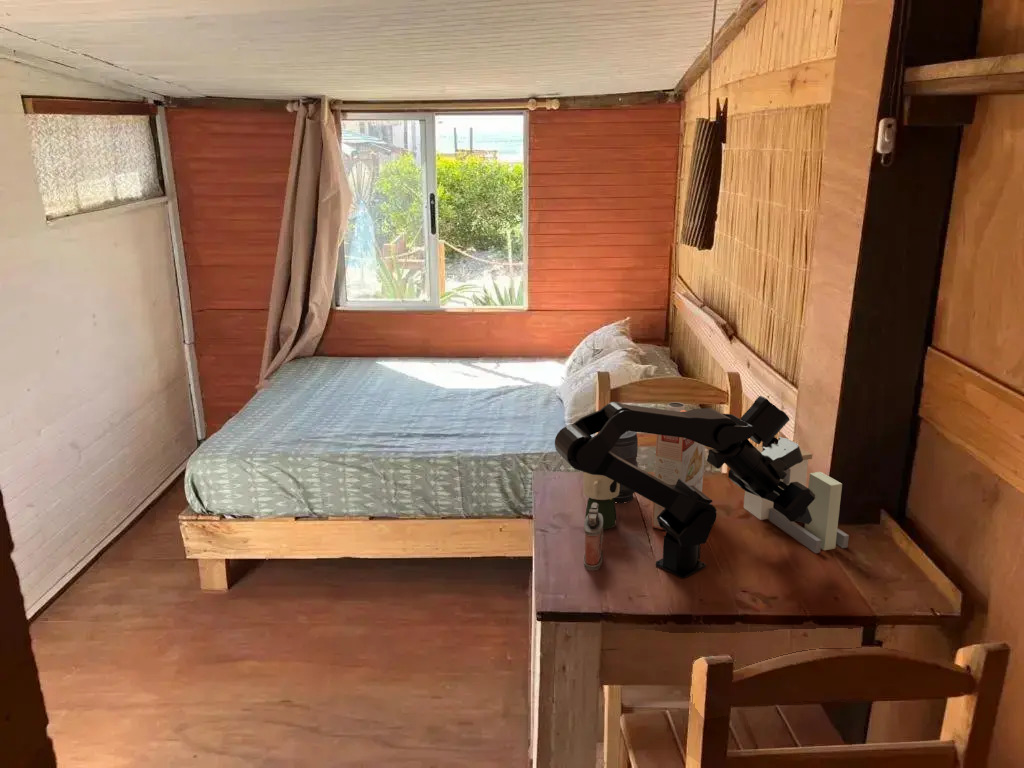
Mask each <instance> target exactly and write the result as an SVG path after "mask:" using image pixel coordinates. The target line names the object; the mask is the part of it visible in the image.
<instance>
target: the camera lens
mask: <svg viewBox="0 0 1024 768" xmlns="http://www.w3.org/2000/svg"><path fill="white" fill-rule="evenodd" d="M637 433H638V432H633V431H627V432H625V433H624V434H623V435H621V437H620V438H619V439H618V441H617V442H616V444H615V445H614V446H613V448H612V449H611V450H610V451H609V452H611V453H613V454H615V455H616V456H618V457H620V458H622V459H624V460H625V461H627V462H629V463H631V464H633V465H634V466H636V467H638V465H639V463H638V460H637V457H638V450H639V449H638V448H639V447H638V441H639V437H638V434H637ZM638 468H639V467H638ZM634 493H635V492H634V491H632V490H630V489H628V488H626V487H625V486H623V485H621V484H620V490H619V495H618V496H617V497H615V498H613V499H614V502H617V503H616V504H619V503H620V504H625V503H624V502H627V503H629V502H628V501H630V500H631V501H632V500H633V499H634ZM632 498H633V499H632ZM631 501H630V502H631Z"/></svg>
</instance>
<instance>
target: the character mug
mask: <svg viewBox="0 0 1024 768" xmlns="http://www.w3.org/2000/svg"><path fill="white" fill-rule="evenodd" d="M582 484H583V485H582V486H583V495H585V497H587V498H588V499H587V504H586V509H585V516H584V519H585V518H586V516H587V515H588V514H589V509H591V505H592V504H593V503H597V504H598V513H600V514H602V516H603V530H605V529H611V528H614V527H615V526H616V524H617V523H618V521H617V520H618V519H617V509H616V503H615V502H614V499H613V498H615V497H617V496H618V495H619V490H620V484H619V483H617V482H615V481H614V480H612V479H610V478H608V477H606V476H603V475H592V474H589V473H585V472H583V483H582Z"/></svg>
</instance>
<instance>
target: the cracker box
mask: <svg viewBox="0 0 1024 768" xmlns="http://www.w3.org/2000/svg"><path fill="white" fill-rule="evenodd" d="M686 411H687V410H685V409H684V410H681V411H680V412H686ZM655 443H656V444H655V462H654V477H656V478H658V479H660V480H661V481H663V482H665V483H667V484H670V485H676V483H677V481H678V479H681V480H682V481H683V482H684V483H686V484H687V485H689V486H694V487H695V488H697V489H698V490H699V491H701V492H702V493H703V483H704V482H703V481H704V469H705V467H704V466H705V456H706V455H705V454H706V446H704V445H702V444H699V443H697V442H695V441H692V440H690V439H687V438H682V437H674V436H666V435H658V434H656V441H655ZM664 509H665V508H664V507H662V506H660V505H658V504H656V503H654V502H652V517H651V518H652V519H651V527H652V528H656V529H659V530H664V529H663V528H661V527H660V526H659V523H658V520H657V516H658V515H659V514H660V513H661V512H662V511H663V510H664ZM664 531H665V530H664Z"/></svg>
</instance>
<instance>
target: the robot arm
mask: <svg viewBox="0 0 1024 768" xmlns="http://www.w3.org/2000/svg"><path fill="white" fill-rule="evenodd" d="M685 411H686V412H677V411H670V410H667V409H660V408H653V407H647V406H641V405H639V406H638V405H631V404H626V403H625V404H624V403H621V402H620V401H611V402H609V403H608V404H606V405H604V406H603V407H601V408H600V409H598V410H597V411H594V412H592V413H588V414H586V415H584V416H582V417H580V418H578V419H577V420H576V421H575V422H573V423H571V424H569V425H566V426H564V427H563V428H561V429H560V430H559V431H558V432H557V434H556V435H555V438H554V447H555V450H556V452H557V453H558V454H559V455H560V456H561V457H562V458H563V459H564V460H565V461H566V462H567V463H568V464H569V466H571V467H572V468H573V469H574V470H576V471H579V472H583V473H584V472H585V473H589V474H592V475H603V476H606V477H608V478H610V479H612V480H614V481H615V482H617V483H619V484H621V485H623V486H625V487H626V488H628V489H630V490H632V491H634V493H636V494H638V495H639V496H641V497H643V498H645V499H647V500H649V501H651V502H652V503H653V502H654V503H656V504H658V505H660V506H662V507H664V508H665V509H664V510H663V511H662V512H661V513H660V514H659V515H658V516H657V520H658V523H659V526H660V527H661V528H663V529H664V531H665V535H664V536H663V546H662V558H661V559H659V560H656V561H655V565H656V566H657V567H659V568H661V569H662V570H665V571H667V572H670V573H671V574H673V575H675V576H677V577H679V578H681V579H685V578H687V577H690V576H692V575H693V574H695V573H697V572H700V570H703V569H704V568H706V566H707V565H706V563H705V562H702V561H700V559H701V545H704V544H706V543H707V541H708V539H709V536H710V534H711V531H712V528H713V526H714V524H715V523H716V520H717V508H716V507H715V506H714V505H713V504H712V503H713V500H712V499H711V498H709V496H707V495H706V494H705V493H704V492H703V491H702V492H701V491H699V490H698V489H697V488H695V487H694V486H689V485H687V484H686V483H684V482H683V481H682V480H681V479H678V481H677V483H676V485H670V484H667V483H665V482H663V481H661V480H660V479H658V478H656V477H655V475H653V474H651V473H649V472H647V471H646V470H644V469H641V468H640V467H636V466H634V465H633V464H631V463H629V462H627V461H625V460H624V459H622V458H620V457H618V456H616V455H615V454H613V453H611V452H609V451H610V450H611V449H612V448H613V446H614V445H615V444H616V442H617V441H618V439H619V438H620V437H621V435H623V434H624V433H625V432H627V431H633V432H637V433H643V434H651V435H657V434H658V435H666V436H674V437H682V438H687V439H690V440H692V441H695V442H697V443H699V444H702V445H704V446H705V447H708V448H710V449H708V455H707V458H706V462H707V463H709V464H710V465H712V466H713V467H714V468H716V469H718V470H719V469H721V467H722V466H723V465H724V464H725V465H726V466H727V467H728V468H729V470H728V474H727V475H728V476H727V477H728V479H729V480H731V482H732V483H733V484H734V485H736V486H738V487H739V488H741V489H742V490H744V492H745V491H747V492H749V493H752V494H754V495H757V496H759V497H761V498H762V499H763V498H764V499H767V500H769V501H772V502H774V504H773V508H774V509H775V510H776V511H777V512H778V513H779V514H780V515H781V516H783V517H784V518H786V519H787V520H789V521H790V522H792V521H794V522H799V523H802V524H804V525H805V524H809V523H810V522H811V521H812V518H811V515H810V512H809V510H808V506H809V505H810V504H811V503H812V502H813V500H814V499H815V494H814V493H813V492H812V491H811V490H810V489H809V488H808V487H807V486H806V487H805V486H804V485H802V484H800V483H799V482H791V483H790V484H789V485H787V484H785V483H783V482H782V481H780V479H782V480H783V479H784V478H785V476H786V475H787V474H786V473H785V472H784V470H787V469H789V468H791V467H792V466H794V465H796V464H797V463H801V462H802V461H803V457H802V454H801V451H800V448H801V447H800V445H799V444H798V443H797V442H795V441H793V440H791V439H789V438H787V437H782V436H779V437H778V438H777V437H776V435H778V433H779V432H780V431H781V430H782V429H783V428H784V427H785V426H786V425H787V424H788V422H789V421H790V420H791V419H790V417H789V415H787V414H786V412H784V411H783V410H781V409H780V408H778V406H776V405H774V403H772V402H771V401H770V400H769V399H768V398H766V397H764V396H761V395H759V396H758V397H757V398H756V399H755V400H754V402H753V403H752V404H751V405H750V407H749V408H747V410H746V412H744V414H743V415H742V416H741V417H738V416H736V415H734V414H732V413H722V412H719V411H718V410H716V409H714V408H709V407H706V408H692V409H689V410H685ZM595 434H596V435H595ZM592 435H594V436H592ZM749 439H750V440H751V441H752V442H753V443H755V444H757V445H760V444H761V443H762V444H761V446H762V448H763V450H762V452H761V453H760V451H758V450H757V449H756V448H755V447H756V446H755V445H754V444H753V443H752V442H751V441H750V440H749ZM799 447H800V448H799ZM778 486H779V487H778ZM781 488H782V489H781ZM783 489H784V490H783ZM663 529H662V530H663Z"/></svg>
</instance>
